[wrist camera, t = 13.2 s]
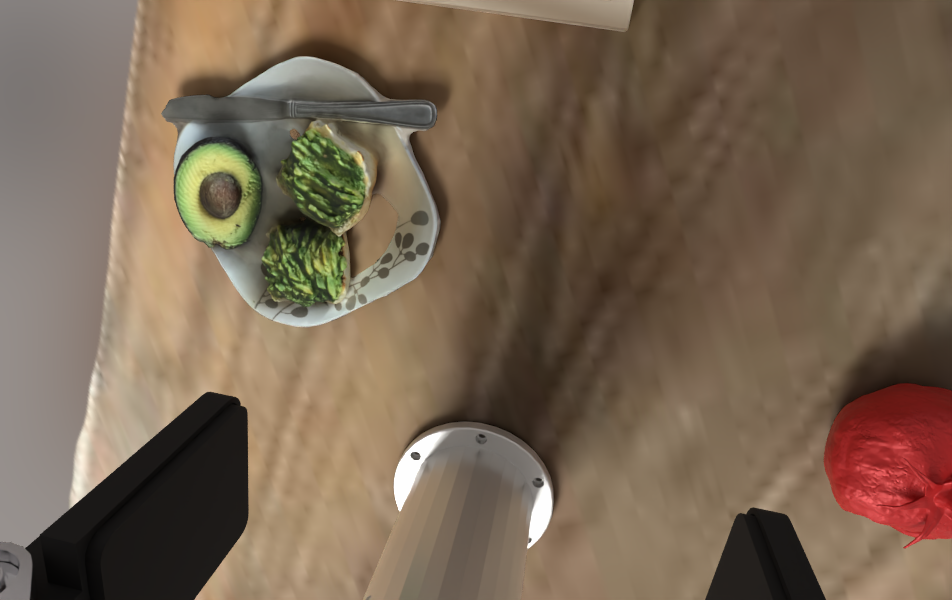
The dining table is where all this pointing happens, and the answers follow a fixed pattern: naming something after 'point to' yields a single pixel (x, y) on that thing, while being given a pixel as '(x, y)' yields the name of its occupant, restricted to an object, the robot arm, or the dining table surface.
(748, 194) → the dining table surface
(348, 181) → the avocado toast plate
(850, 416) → the pomegranate
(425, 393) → the dining table surface
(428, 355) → the dining table surface
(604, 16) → the sorting tray
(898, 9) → the dining table surface
